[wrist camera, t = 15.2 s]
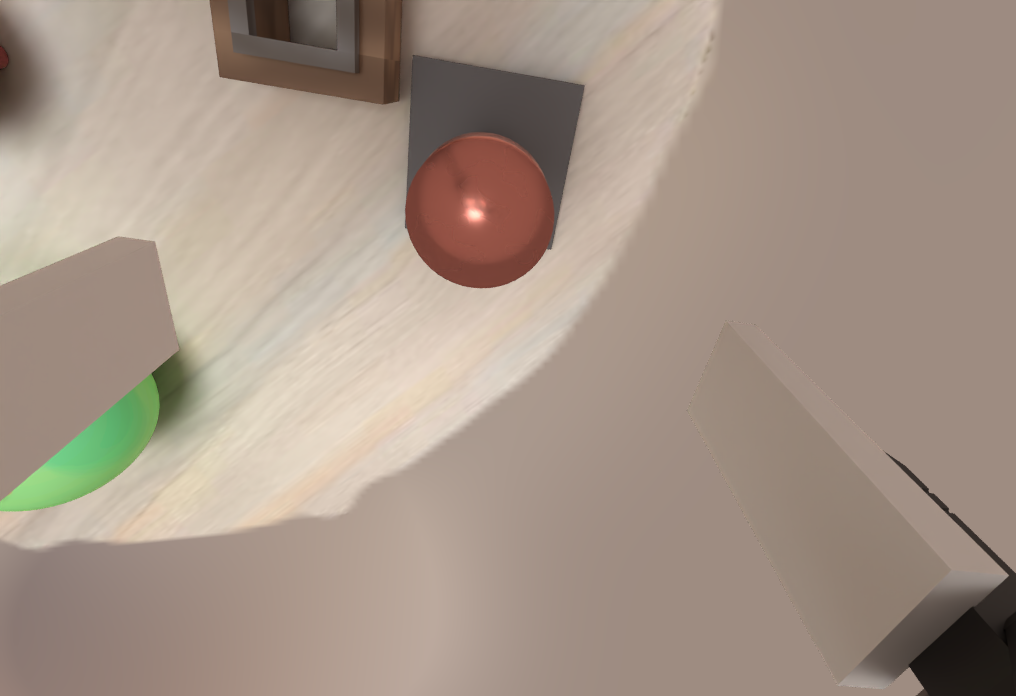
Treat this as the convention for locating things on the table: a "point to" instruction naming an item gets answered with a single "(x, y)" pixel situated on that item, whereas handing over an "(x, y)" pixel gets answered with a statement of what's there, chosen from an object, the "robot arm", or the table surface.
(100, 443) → the toy bird
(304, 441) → the table surface
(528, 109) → the rubber mat
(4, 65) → the mechanical component
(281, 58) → the eye block
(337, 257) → the table surface
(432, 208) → the peg
